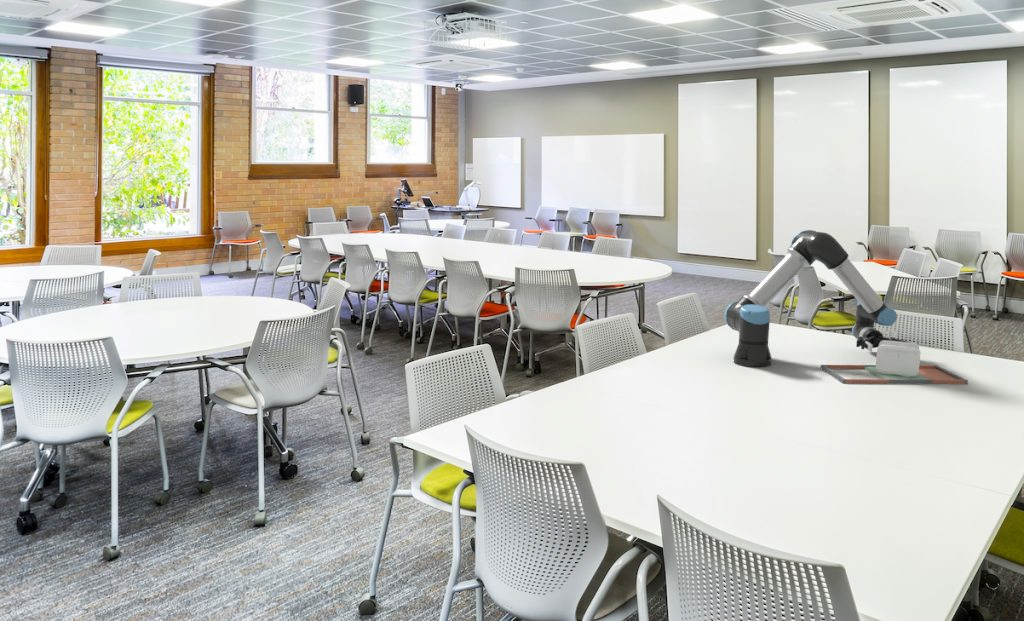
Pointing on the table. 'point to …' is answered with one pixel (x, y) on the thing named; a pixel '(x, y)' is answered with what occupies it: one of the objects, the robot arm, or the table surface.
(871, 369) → the divided tray
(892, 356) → the cable organizer
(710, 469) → the table surface
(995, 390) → the table surface
